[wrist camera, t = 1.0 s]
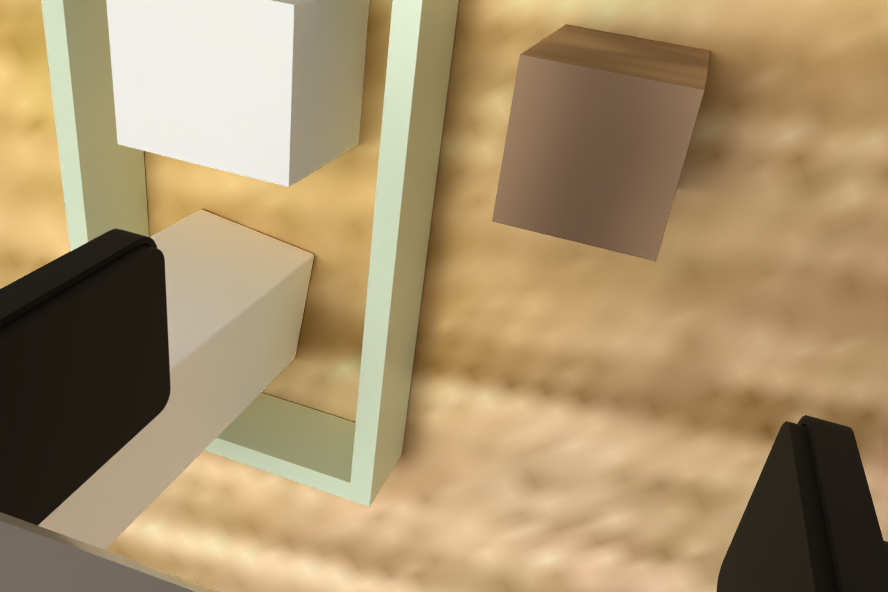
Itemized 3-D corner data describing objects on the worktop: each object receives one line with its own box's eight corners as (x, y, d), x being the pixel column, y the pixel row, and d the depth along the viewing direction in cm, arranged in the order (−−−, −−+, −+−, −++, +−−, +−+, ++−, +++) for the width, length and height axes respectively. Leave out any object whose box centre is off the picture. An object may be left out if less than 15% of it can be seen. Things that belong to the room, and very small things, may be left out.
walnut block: (710, 50, 26) (704, 90, 20) (671, 189, 29) (655, 261, 23) (566, 24, 27) (520, 54, 21) (540, 160, 30) (492, 221, 24)
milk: (201, 206, 36) (-391, 520, 17) (318, 253, 35) (-174, 642, 16) (190, 315, 39) (-324, 684, 20) (297, 361, 38) (-138, 796, 19)
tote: (465, -55, 27) (427, -51, 24) (401, 454, 38) (369, 506, 35) (106, -113, 31) (27, -117, 27) (141, 369, 42) (88, 410, 38)
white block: (371, -11, 29) (294, 4, 24) (359, 143, 32) (289, 186, 27) (208, -41, 31) (103, -32, 26) (211, 109, 34) (117, 144, 28)
